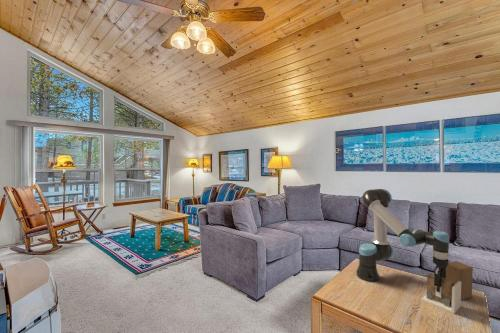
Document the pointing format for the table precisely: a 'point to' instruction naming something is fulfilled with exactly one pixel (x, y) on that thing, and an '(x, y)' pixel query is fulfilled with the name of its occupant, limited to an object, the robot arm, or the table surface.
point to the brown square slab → (445, 285)
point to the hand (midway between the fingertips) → (439, 295)
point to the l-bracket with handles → (446, 299)
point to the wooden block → (461, 277)
